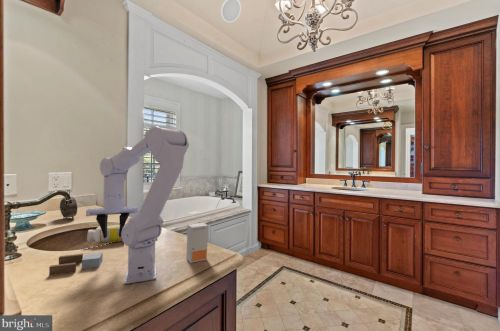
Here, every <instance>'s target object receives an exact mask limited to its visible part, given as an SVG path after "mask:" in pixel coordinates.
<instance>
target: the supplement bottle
mask: <svg viewBox="0 0 500 331" xmlns="http://www.w3.org/2000/svg"><path fill="white" fill-rule="evenodd" d="M119 229H120V224H112V225H107V237H106V238H104V237H103V233H102V230H101V227H100V225H98V227H96V229H88V230H87V238H86V240H87V242H88V243H92V242H95V243H96V244H106V243H115V242H123V240H122V237H119Z"/></svg>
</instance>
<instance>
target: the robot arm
mask: <svg viewBox="0 0 500 331" xmlns="http://www.w3.org/2000/svg"><path fill="white" fill-rule="evenodd" d="M189 146H190V143H189V141H188V137H187V134H186V133H185V132H184V131H182V130H175V129H169V128H165V127H160V126H157V125H155V126H152V127H150V128H149V129H148V130H145V132H144V136H143V138H142V139H140V140H139V141H138V142H137V143H136V144H135V145H133V146H132V147H129V146H124V147H122V149H121V150H119V152H117V153H115V154H114V155H113V156H112V157H109V156H108V157H106V156H105V157H103V158H102V159H101V161H100V163H99V171H100V174H101V175H102V176H103V201H102V202H103V207H97V208H88V209H86V210H85V216H86V217H92V216H93V217H94V216H95V220H96V222H97V223H98V224H99V225H98V226H100V227H101V230H102V233H103V237H104V238H106V237H107V226H108V217H109V215H110V216H111V215H119V216H118V217H119V225H120V229H119V237H122V240H123V241H122V242H123V244H124V245H125V246H127V248H128V250H127V251H128V252H127V253H128V254H127V255H128V256H127V257H128V258H127V269H126V274H125V278H124V281H123V284H125V285H127V284H134V283H139V282H146V281H153V280H156V279H157V264H156V261H155V260H156V242H158V238H159V237H160V236H161V234H162V229H163V224H164V222H165V221H164V219H163V217H162V216H161V214H162V211H163V210H164V208H165V206H166V203H167V201H168V199H169V197H170V195H171V193H172V191H173V188H174V186H175V184H176V182H177V180H178V178H179V175H180V174H181V171H182V169H183V165H184V160H185V154H186V152H187V150H188V149H189ZM149 153H151V155H152V157H153V159H154V161H155V162H157V163H159V167H158V170H157V171H156V174H155V176H154V178H153V180H152V183H151V185H150V187H149V190H148V192H147V194H146V196H145V198H144V201H143V204H142V205H141V208H140V207H139V206H124V205H125V181H126V180H127V175H128V173H129V171H130V170H129V169H131V168H132V167H134V166H135V165H137V164H139V163H140V160H141V157H143V156H145V155H147V154H149ZM139 208H140V209H139ZM130 214H134V215H132V216H131V217H130V218H129V216H130ZM128 218H129V219H128Z"/></svg>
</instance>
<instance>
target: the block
mask: <svg viewBox="0 0 500 331" xmlns="http://www.w3.org/2000/svg"><path fill="white" fill-rule="evenodd" d="M103 255H104V254H103V252H95V253H87V254H85V255H84V256H83V259H82V262H81V270H86V269H93V268H94V269H95V268H100V266H101V265H102V264H103V263H102V262H103V259H104V258H103Z"/></svg>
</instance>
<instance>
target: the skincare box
mask: <svg viewBox="0 0 500 331" xmlns="http://www.w3.org/2000/svg"><path fill="white" fill-rule="evenodd" d="M186 232H187V233H186V234H187V235H186V260H187V261H188V262H189V264H193V263H199V262H202V261H207V258H208V241H209V240H208V238H209V225H208V224H206V223H205V222H200V223H198V222H197V223H191V224H187V231H186Z"/></svg>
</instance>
